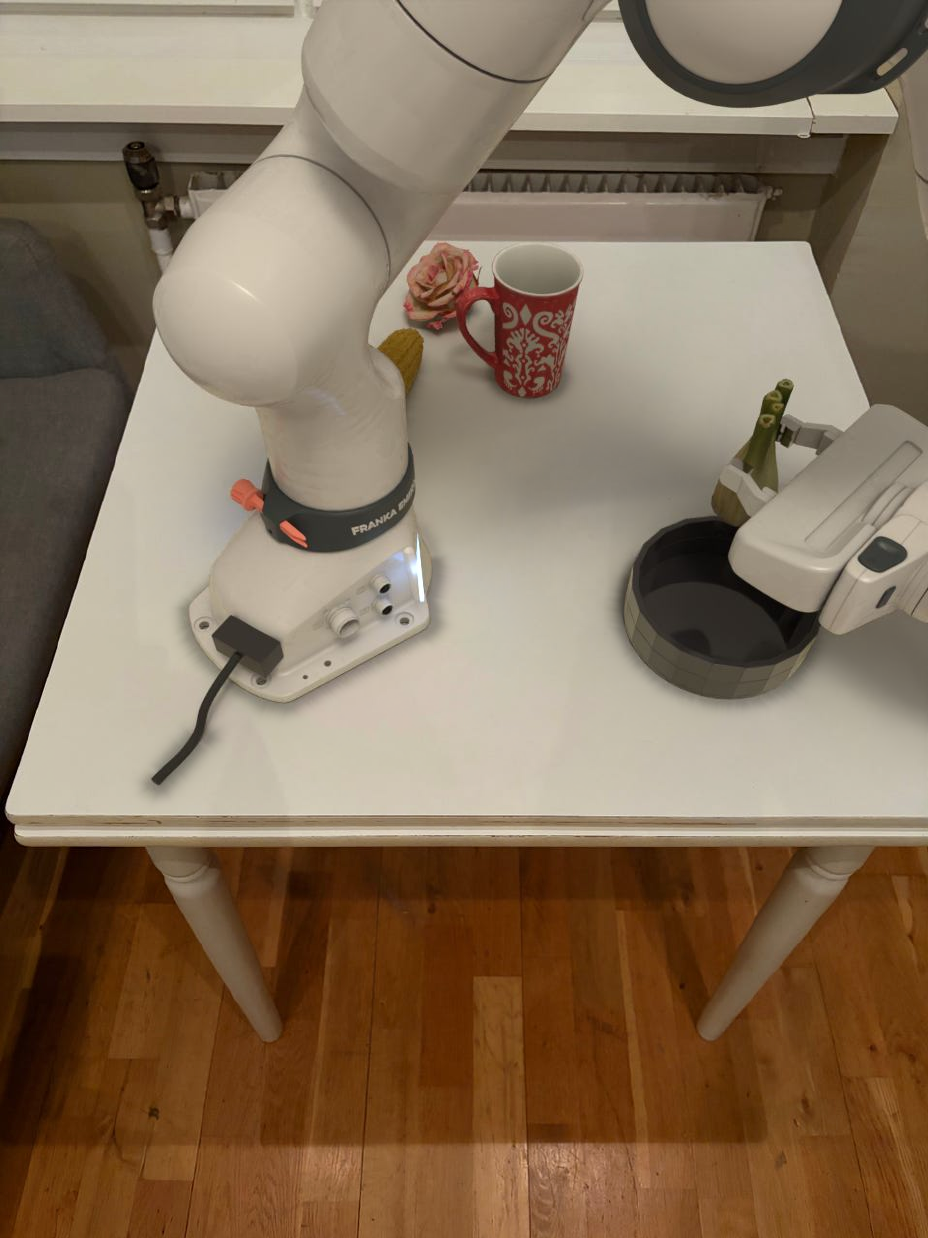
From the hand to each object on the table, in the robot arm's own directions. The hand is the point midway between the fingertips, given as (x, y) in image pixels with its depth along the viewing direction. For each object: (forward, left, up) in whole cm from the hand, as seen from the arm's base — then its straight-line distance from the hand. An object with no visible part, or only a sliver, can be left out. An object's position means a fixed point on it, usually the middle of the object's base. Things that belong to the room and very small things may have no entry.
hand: (751, 446), depth 73 cm
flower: (+10, +44, -17) cm, 49 cm away
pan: (-3, -3, -17) cm, 17 cm away
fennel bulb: (0, -1, -7) cm, 7 cm away
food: (-6, +37, -17) cm, 42 cm away
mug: (+8, +32, -17) cm, 37 cm away
